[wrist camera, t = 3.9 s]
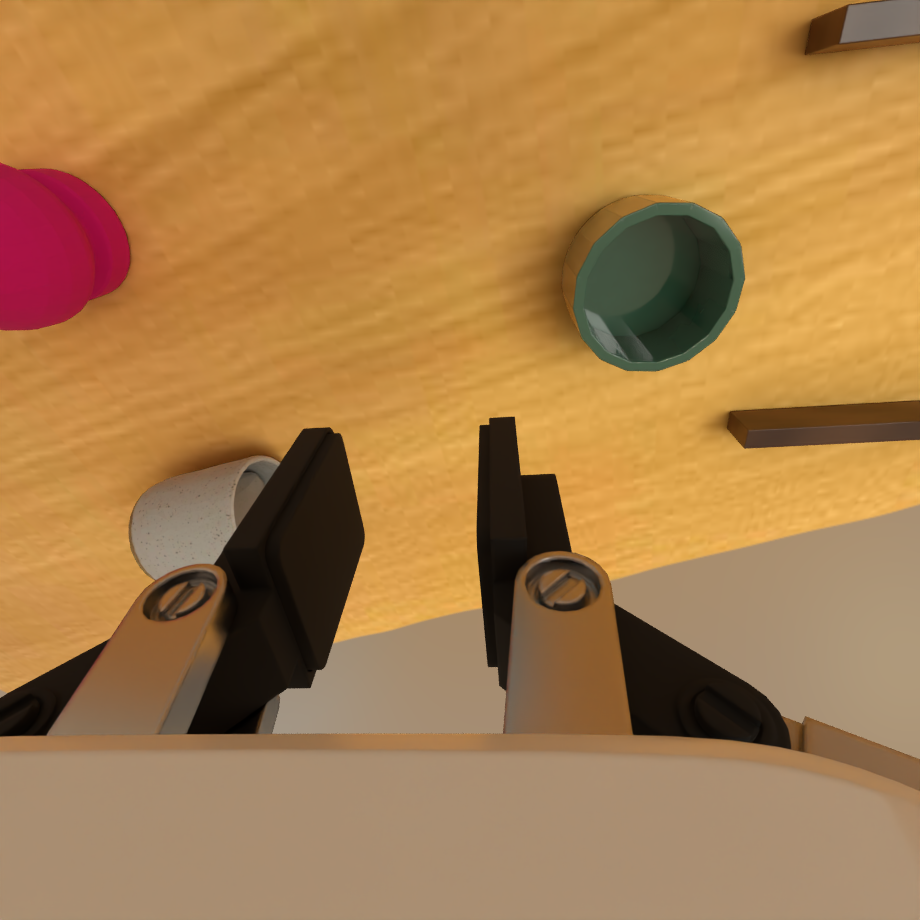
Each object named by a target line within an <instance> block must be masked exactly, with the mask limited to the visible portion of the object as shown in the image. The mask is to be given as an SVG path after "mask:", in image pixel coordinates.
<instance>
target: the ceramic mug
mask: <svg viewBox="0 0 920 920" xmlns="http://www.w3.org/2000/svg"><path fill="white" fill-rule="evenodd" d="M279 464H280V462H279V461H277V460H275V459H274V458H272V457H268V456H261V455H259V456H252V457H248V458H245V459H241V460H237V461H233V462H229V463H224V464H221V465H217V466H213V467H210V468H206V469H202V470H199V471H195V472H190V473H185V474H181V475H178V476H175V477H171V478H168V479H166V480H164V481H162V482H160V483H158V484H155V485H154V486H152V487H151V488H149V489H148V490H147V491H146V492H145V493H143V494H142V496H141V497H140V498H139V500H138V501H137V503H136V504H135V506H134V508H133V511H132V514H131V516H130V522H129V541H130V547H131V551H132V553H133V556H134V558H135V560H136V562H137V563H138V565H139V566H140V568H141V569H142V570H143V571H144V572H145V573H146V574H147V575H148V576H149V577H151V578H152V579H153V580H157V579H158V578H160V577H162V576H164V575H165V574H167V573H169V572H171V571H174V570H176V569H179V568H182V567H184V566H189V565H194V564H212V565H214V563H215V562H216V560H217V559H218V557H219V556H220V554H221V553H222V551H223V548H224V547H225V545H226V544H227V542H228V541H229V539H230V538H231V536H232V535H233V533H234V532H235V530H236V529H237V527H238V526H239V524H240V523H241V521H242V520H243V518H244V517H245V515H246V514H247V512H248V511H249V509H250V508H251V506H252V505H253V503H254V502H255V500H256V499H257V497H258V496H259V494H260V493H261V491H262V490H263V488H264V487H265V485H266V484H267V482H268V481H269V479H270V478H271V476H272V475H273V473H274V472H275V470H276V469H277V467H278V466H279Z"/></svg>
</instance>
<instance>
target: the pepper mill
mask: <svg viewBox="0 0 920 920" xmlns="http://www.w3.org/2000/svg"><path fill="white" fill-rule="evenodd" d="M129 264H130V250H129V244H128V241H127V237H126V233H125V230H124V228H123V226H122V224H121V222H120V220H119V218H118V217H117V215H116V213H115V212H114V210H113V209H112V208H111V207H110V205H109V204H108V203H107V202H106V201H105V200H104V198H103V197H102V196H101V195H100V194H99V193H97V192H96V191H95V190H94V189H93V188H92V187H90V186H89V185H87V184H86V183H85V182H83V181H81V180H80V179H78V178H76V177H74V176H72V175H70V174H68V173H65V172H62V171H58V170H53V169H21V170H17V169H15V168H13V167H10V166H7V165H5V164H2V163H0V330H33V329H39V328H43V327H47V326H51V325H55V324H58V323H61V322H64V321H66V320H68V319H70V318H72V317H73V316H75V315H76V314H77V313H79V312H80V311H81V310H82V309H83V307H84V306H85V305H86V303H87V302H88V301H89V300H92V299H94V298H97V297H100V296H102V295H105V294H108V293H110V292H112V291H114V290H115V289H116V288H118V287H119V286H120V284H121V283H122V282H123V280H124V279H125V277H126V275H127V272H128V269H129Z"/></svg>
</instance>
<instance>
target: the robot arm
mask: <svg viewBox="0 0 920 920" xmlns="http://www.w3.org/2000/svg"><path fill="white" fill-rule="evenodd" d="M364 539H365V534H364V527H363V523H362V518H361V514H360V510H359V506H358V502H357V497H356V493H355V489H354V485H353V480H352V476H351V472H350V468H349V464H348V459H347V455H346V451H345V447H344V442H343V439H342V436H341V434H339V433H335V434H334V432H333V430H332V429H331V428H330V427H327V428H310V429H303V430H302V431H301V433H300V434H299V436H298V437H297V439H296V440H295V442H294V443H293V445H292V446H291V448H290V449H289V451H288V452H287V454H286V455H285V457H284V458H283V460H282V461H281V463H280V464H279V466H278V467H277V469H276V470H275V472H274V473H273V475H272V476H271V478H270V479H269V481H268V482H267V484H266V485H265V487H264V488H263V490H262V491H261V493H260V494H259V496H258V497H257V499H256V500H255V502H254V503H253V505H252V506H251V508H250V509H249V511H248V512H247V514H246V515H245V517H244V518H243V520H242V521H241V523H240V524H239V526H238V527H237V529H236V530H235V532H234V533H233V535H232V536H231V538H230V539H229V541H228V542H227V544H226V545H225V547H224V548H223V551H222V553H221V554H220V556H219V557H218V559H217V560H216V562H215V563H214V565H212V564H194V565H189V566H184V567H182V568H179V569H176V570H174V571H171V572H169V573H167V574H165V575H164V576H162V577H160V578H158V579H157V580H155V581H154V582H153V583H152V584H150V585H149V586H148V587H147V588H145V589H144V591H143V592H142V593H141V594H140V595H139V597H138V598H137V599H136V600H135V602H134V603H133V605H132V606H131V608H130V609H129V611H128V612H127V614H126V616H125V617H124V619H123V620H122V622H121V623H120V625H119V626H118V628H117V629H116V631H115V632H114V634H113V635H112V637H111V638H110V639H108V640H107V641H105V642H103V643H101V644H99V645H97V646H95V647H94V648H92V649H90V650H88V651H86V652H84V653H82V654H80V655H79V656H77V657H75V658H73V659H71V660H69V661H67V662H65V663H64V664H62V665H60V666H58V667H56V668H54V669H52V670H50V671H49V672H47V673H45V674H43V675H41V676H39V677H37V678H36V679H34V680H32V681H30V682H28V683H26V684H24V685H22V686H21V687H19V688H17V689H15V690H13V691H11V692H9V693H8V694H6V695H4V696H3V697H1V698H0V920H920V759H917V758H915V757H912V756H909V755H907V754H904V753H901V752H899V751H896V750H894V749H891V748H888V747H886V746H883V745H880V744H878V743H875V742H872V741H870V740H867V739H864V738H862V737H859V736H856V735H854V734H851V733H848V732H846V731H843V730H840V729H838V728H835V727H833V726H829V725H827V724H825V723H822V722H819V721H817V720H814V719H811V718H809V717H805V718H804V721H803V723H802V724H801V723H799V722H796V721H793V720H791V719H788V718H785V717H783V716H781V714H780V712H779V711H778V710H777V709H776V708H775V707H774V705H773V704H772V703H771V702H770V701H769V699H767V697H766V696H765V695H763V694H762V693H761V692H759V691H757V690H756V689H755V688H754V687H752V686H751V685H750V684H748V683H747V682H745V681H743V680H741V679H740V678H738V677H737V676H735V675H733V674H731V673H730V672H728V671H726V670H725V669H723V668H721V667H720V666H718V665H716V664H715V663H713V662H711V661H710V660H708V659H706V658H705V657H703V656H701V655H700V654H698V653H696V652H695V651H693V650H691V649H690V648H688V647H686V646H684V645H683V644H681V643H679V642H677V641H676V640H674V639H673V638H671V637H669V636H668V635H666V634H664V633H663V632H661V631H659V630H658V629H656V628H654V627H653V626H651V625H649V624H648V623H646V622H644V621H642V620H641V619H639V618H637V617H636V616H634V615H632V614H631V613H629V612H627V611H626V610H624V609H622V608H621V607H619V606H617V605H615V604H614V600H613V594H612V587H611V583H610V580H609V577H608V575H607V573H606V572H605V571H604V570H603V569H602V567H601V566H600V565H599V564H597V563H596V562H594V561H593V560H591V559H590V558H588V557H585V556H583V555H580V554H577V553H573V552H572V551H571V546H570V541H569V536H568V532H567V527H566V522H565V517H564V513H563V508H562V503H561V498H560V494H559V489H558V484H557V480H556V476H555V474H540V475H521V474H520V464H519V454H518V445H517V435H516V425H515V417H500V418H489V425H480V431H479V465H478V500H477V553H478V565H479V576H480V586H481V597H482V608H483V618H484V630H485V641H486V651H487V662H488V667H498V675H499V686H501V687H502V688H503V689H504V690H506V703H505V716H504V729H503V734H272V732H273V728H274V725H275V721H276V717H277V714H278V710H279V703H280V697H279V694H280V693H282V692H283V691H284V690H286V689H287V688H311V685H312V682H313V679H314V676H315V673H316V670H322V669H323V668H324V667H325V665H326V663H327V659H328V656H329V653H330V650H331V647H332V644H333V641H334V637H335V634H336V631H337V628H338V625H339V622H340V618H341V615H342V612H343V609H344V606H345V603H346V600H347V596H348V593H349V590H350V587H351V584H352V581H353V577H354V574H355V571H356V568H357V565H358V562H359V558H360V555H361V552H362V549H363V546H364Z"/></svg>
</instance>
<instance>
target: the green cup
mask: <svg viewBox="0 0 920 920" xmlns="http://www.w3.org/2000/svg"><path fill="white" fill-rule="evenodd" d="M744 281H745V272H744V264H743V256H742V248H741V244H740V242H739V241H738V239H737V238H736V236H735V235H734V233H733V232H732V230H731V229H730V227H729V226H728V224H727V223H726V221H725V220H724V219H723V218H722V217H721V216H719V215H717V214H715V213H713V212H711V211H709V210H707V209H705V208H703V207H701V206H699V205H697V204H695V203H692V202H688V201H684V200H680V199H676V198H672V197H667V196H663V195H634V196H631V197H626V198H623V199H620V200H618V201H615V202H613V203H611V204H609V205H607V206H605V207H604V208H602V209H601V210H599V211H598V212H597V213H596V214H594V215H593V216H592V217H591V218H590V219H589V220H588V221H587V222H586V223H585V224H584V225H583V226H582V227H581V229H580V230H579V231H578V233H577V234H576V236H575V237H574V239H573V241H572V243H571V244H570V247H569V249H568V252H567V254H566V257H565V261H564V265H563V271H562V291H563V295H564V300H565V303H566V305H567V308H568V311H569V314H570V316H571V318H572V320H573V322H574V324H575V326H576V328H577V330H578V332H579V334H580V336H581V338H582V340H583V341H584V342H585V343H586V344H587V345H588V346H589V347H590V349H591V350H592V351H593V352H594V353H595V354H596V355H597V356H598V358H599V359H601V360H603V361H605V362H607V363H609V364H612V365H614V366H616V367H619V368H621V369H623V370H627V371H660V370H663V369H666V368H669V367H671V366H674V365H677V364H680V363H683V362H686V361H687V360H690V359H691V358H692V357H694V356H695V355H696V354H698V353H699V352H700V351H702V350H703V349H704V348H706V347H707V346H708V345H710V344H711V343H712V342H714V341H715V340H716V339H717V337H718V336H719V335H720V333H721V332H722V330H723V329H724V327H725V326H726V325H727V323H728V322H729V320H730V319H731V317H732V316H733V315H734V313H735V311H736V309H737V305H738V302H739V298H740V295H741V291H742V288H743V284H744Z"/></svg>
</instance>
